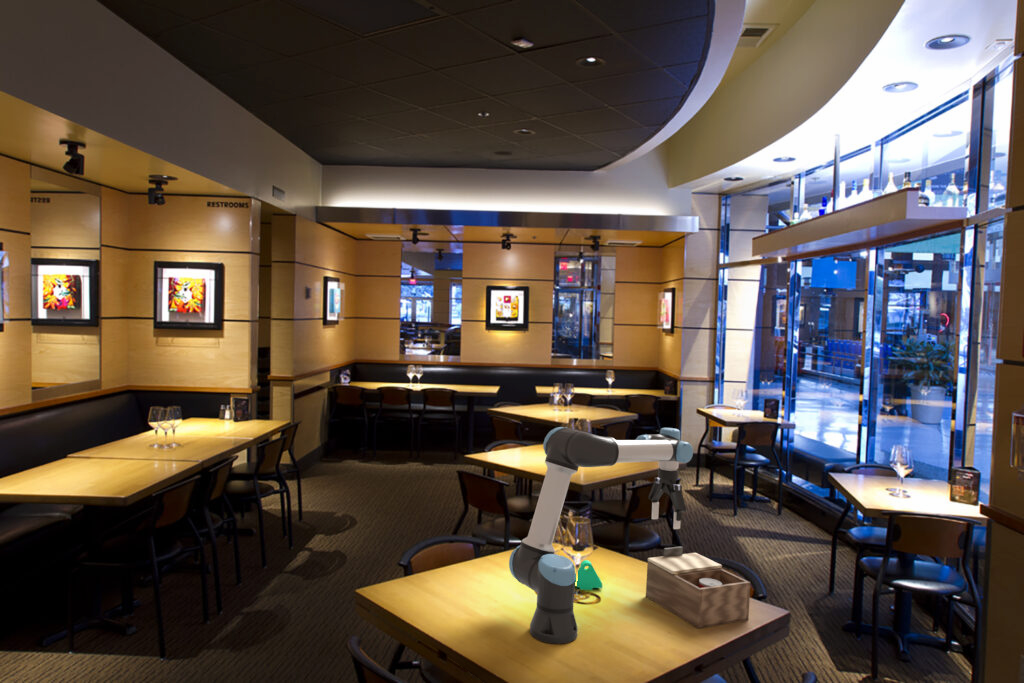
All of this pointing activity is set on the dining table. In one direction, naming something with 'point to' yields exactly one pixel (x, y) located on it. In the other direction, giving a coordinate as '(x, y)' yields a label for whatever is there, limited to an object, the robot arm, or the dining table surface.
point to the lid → (683, 561)
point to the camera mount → (587, 577)
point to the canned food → (708, 582)
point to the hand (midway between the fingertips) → (665, 523)
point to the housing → (700, 596)
